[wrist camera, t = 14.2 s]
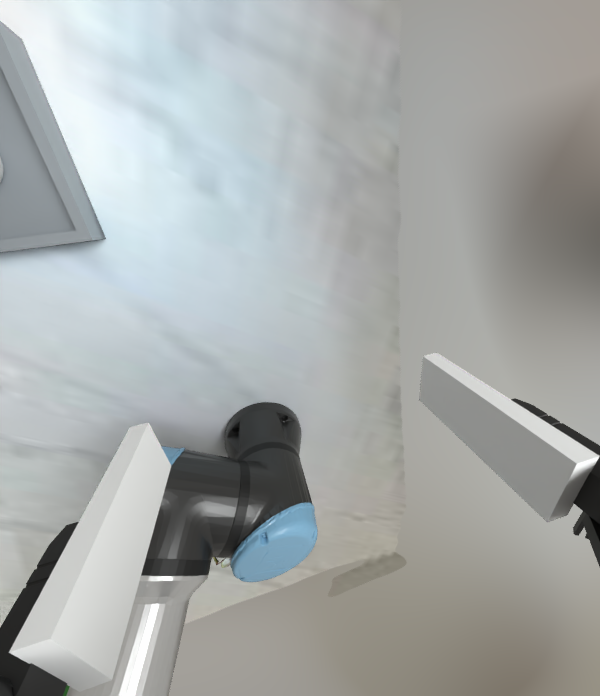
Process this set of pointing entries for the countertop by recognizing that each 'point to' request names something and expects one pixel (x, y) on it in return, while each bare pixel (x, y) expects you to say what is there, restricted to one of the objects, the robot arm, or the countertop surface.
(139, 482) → the robot arm
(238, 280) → the countertop surface
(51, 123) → the tray
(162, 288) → the countertop surface
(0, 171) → the cup
